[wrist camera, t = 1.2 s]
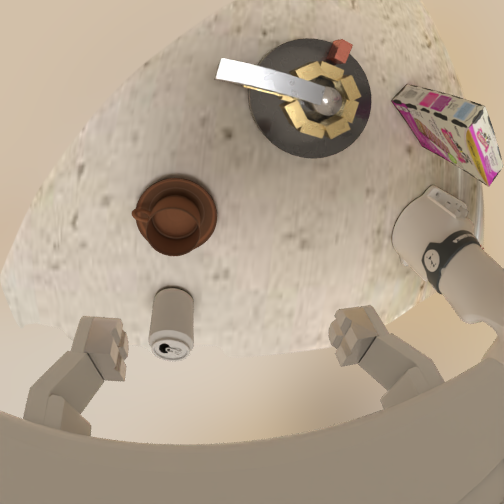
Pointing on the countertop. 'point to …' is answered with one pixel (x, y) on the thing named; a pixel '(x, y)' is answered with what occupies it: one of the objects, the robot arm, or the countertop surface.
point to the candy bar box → (452, 130)
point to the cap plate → (277, 117)
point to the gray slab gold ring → (298, 92)
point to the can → (172, 325)
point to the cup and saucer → (175, 216)
